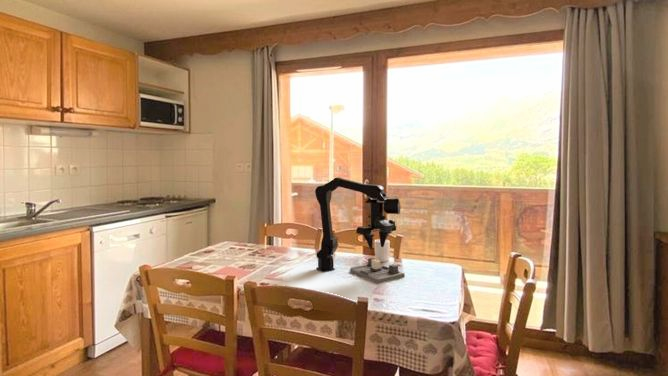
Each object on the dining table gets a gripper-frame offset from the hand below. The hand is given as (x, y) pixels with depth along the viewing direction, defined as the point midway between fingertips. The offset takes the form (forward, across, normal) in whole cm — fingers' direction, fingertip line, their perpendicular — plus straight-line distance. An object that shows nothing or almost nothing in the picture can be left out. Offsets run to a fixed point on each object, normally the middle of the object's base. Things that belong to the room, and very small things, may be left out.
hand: (376, 247), depth 180 cm
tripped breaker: (+10, -1, 0) cm, 10 cm away
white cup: (+12, +18, +18) cm, 28 cm away
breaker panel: (+12, 0, 0) cm, 12 cm away
